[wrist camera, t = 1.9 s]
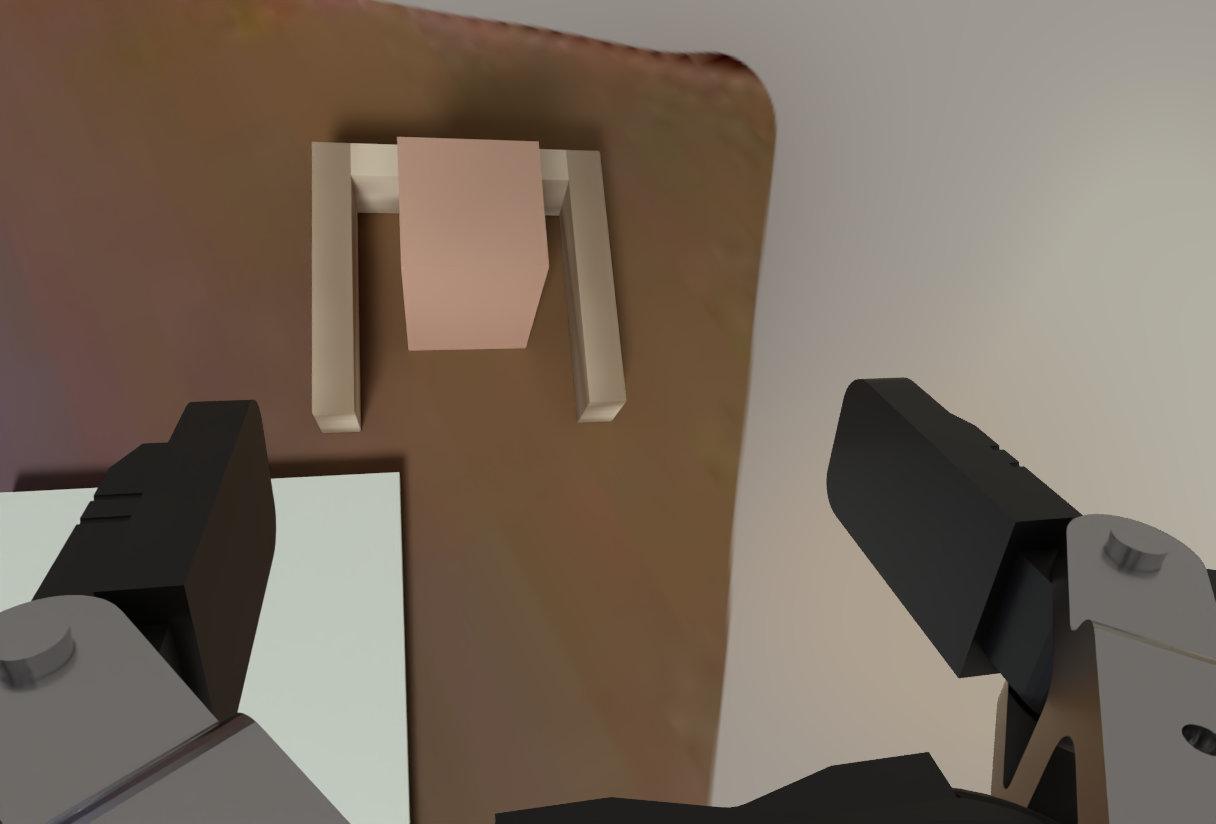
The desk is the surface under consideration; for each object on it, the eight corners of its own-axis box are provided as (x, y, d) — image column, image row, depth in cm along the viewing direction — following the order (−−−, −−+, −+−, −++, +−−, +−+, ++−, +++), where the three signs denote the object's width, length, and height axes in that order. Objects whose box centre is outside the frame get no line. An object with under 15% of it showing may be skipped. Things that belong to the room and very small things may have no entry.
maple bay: (322, 432, 33) (312, 412, 31) (321, 182, 36) (312, 141, 34) (611, 421, 36) (626, 400, 33) (587, 187, 39) (599, 150, 36)
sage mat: (-33, 924, 27) (-50, 933, 26) (10, 498, 30) (-4, 492, 30) (411, 857, 30) (410, 864, 29) (400, 477, 33) (399, 472, 33)
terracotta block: (408, 350, 35) (401, 266, 28) (405, 244, 36) (397, 136, 29) (525, 348, 36) (549, 266, 29) (518, 245, 38) (538, 141, 30)
